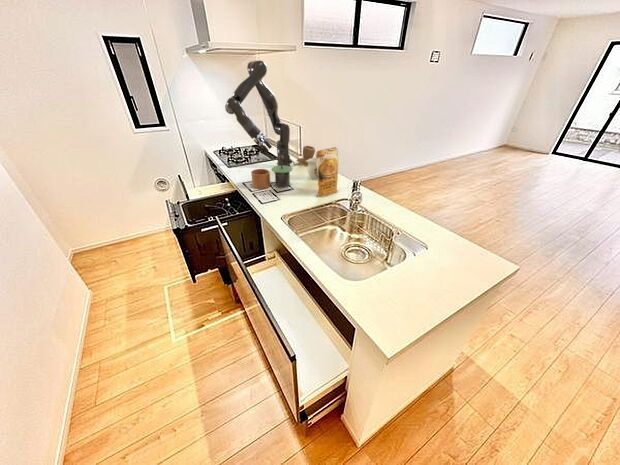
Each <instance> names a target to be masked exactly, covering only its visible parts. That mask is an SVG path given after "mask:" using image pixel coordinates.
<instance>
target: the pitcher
mask: <svg viewBox="0 0 620 465" xmlns="http://www.w3.org/2000/svg"><path fill="white" fill-rule="evenodd" d="M306 162H308V166H307V174H308V176H309V178H310V179H311V180H315V181H318V173H317V163H316V157H313V158H311V159H308V160H306Z"/></svg>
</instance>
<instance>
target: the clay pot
mask: <svg viewBox="0 0 620 465" xmlns="http://www.w3.org/2000/svg"><path fill="white" fill-rule="evenodd" d="M270 173H271V172H270V170H269V169H266V168H257V169H253V170H251V172H250V174H251V183H252V187H253V188H255V189H260V190H262V189H268V188H269V187H271V174H270Z"/></svg>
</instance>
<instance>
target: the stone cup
mask: <svg viewBox="0 0 620 465" xmlns="http://www.w3.org/2000/svg"><path fill="white" fill-rule="evenodd" d="M315 154H316V148H315V147H314V146H311V145H304V146H303V148H302V157H299V158H296V162H298V164H299V163H300V164H299V165H302V166H304V167H308V162H306V160H308V159H311V158H314V156H315Z"/></svg>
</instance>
